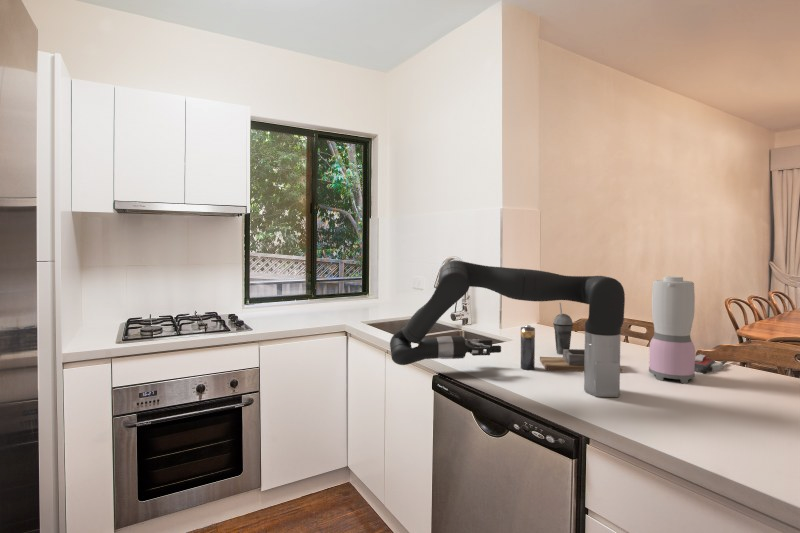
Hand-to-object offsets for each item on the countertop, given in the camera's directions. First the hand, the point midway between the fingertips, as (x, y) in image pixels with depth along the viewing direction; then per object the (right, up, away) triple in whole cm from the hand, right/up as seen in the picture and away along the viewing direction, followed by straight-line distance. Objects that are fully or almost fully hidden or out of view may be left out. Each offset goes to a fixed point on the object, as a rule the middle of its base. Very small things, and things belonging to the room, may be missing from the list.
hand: (496, 345), depth 142 cm
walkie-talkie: (+72, -8, +2) cm, 73 cm away
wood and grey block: (+30, -8, +3) cm, 31 cm away
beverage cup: (+31, -7, +21) cm, 38 cm away
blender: (+54, -8, -8) cm, 56 cm away
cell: (+11, -8, +2) cm, 14 cm away
